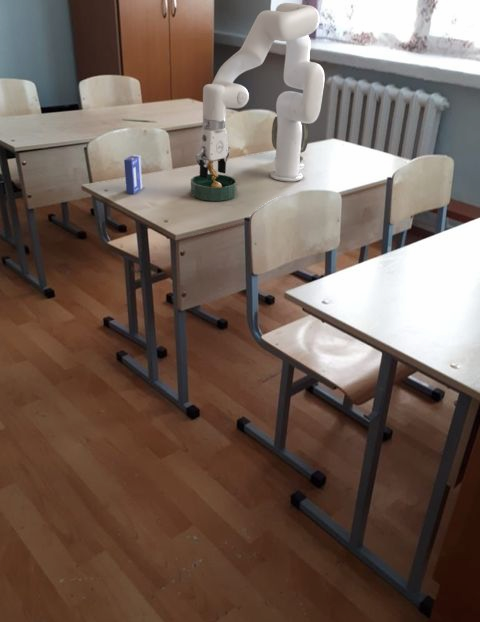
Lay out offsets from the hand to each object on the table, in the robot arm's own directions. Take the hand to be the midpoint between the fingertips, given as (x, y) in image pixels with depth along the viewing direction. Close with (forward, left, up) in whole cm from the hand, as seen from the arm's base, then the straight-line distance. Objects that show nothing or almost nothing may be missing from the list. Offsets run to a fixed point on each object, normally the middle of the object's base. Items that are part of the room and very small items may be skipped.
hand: (212, 175), depth 210 cm
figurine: (0, 0, -7) cm, 7 cm away
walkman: (+17, -22, -7) cm, 29 cm away
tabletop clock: (-60, -8, -7) cm, 61 cm away
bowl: (0, 0, -7) cm, 7 cm away
